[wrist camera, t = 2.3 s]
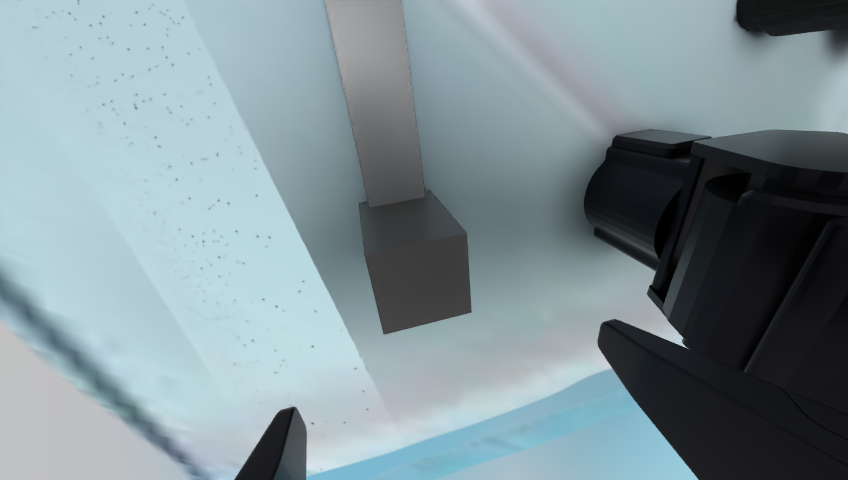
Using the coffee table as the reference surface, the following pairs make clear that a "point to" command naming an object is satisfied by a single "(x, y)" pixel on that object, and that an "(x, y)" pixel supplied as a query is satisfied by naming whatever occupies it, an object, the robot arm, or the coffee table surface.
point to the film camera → (792, 15)
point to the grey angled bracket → (396, 174)
